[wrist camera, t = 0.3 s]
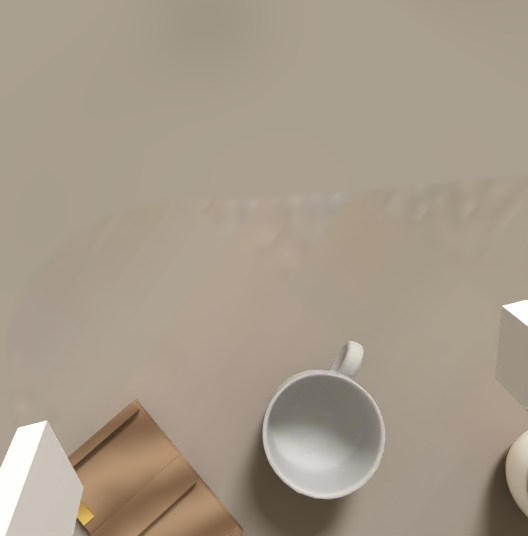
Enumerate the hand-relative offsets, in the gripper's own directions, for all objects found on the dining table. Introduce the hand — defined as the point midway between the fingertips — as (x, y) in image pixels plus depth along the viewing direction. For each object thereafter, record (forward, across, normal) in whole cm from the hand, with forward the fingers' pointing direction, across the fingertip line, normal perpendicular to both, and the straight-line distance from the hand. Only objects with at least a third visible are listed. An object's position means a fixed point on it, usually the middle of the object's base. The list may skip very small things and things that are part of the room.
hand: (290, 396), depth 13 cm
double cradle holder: (+22, +14, +30) cm, 39 cm away
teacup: (+25, -5, +26) cm, 36 cm away
